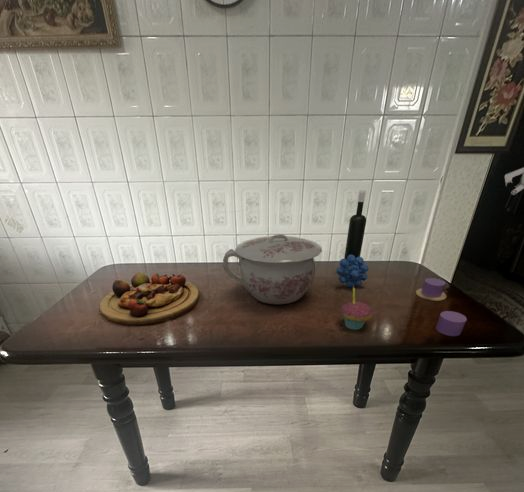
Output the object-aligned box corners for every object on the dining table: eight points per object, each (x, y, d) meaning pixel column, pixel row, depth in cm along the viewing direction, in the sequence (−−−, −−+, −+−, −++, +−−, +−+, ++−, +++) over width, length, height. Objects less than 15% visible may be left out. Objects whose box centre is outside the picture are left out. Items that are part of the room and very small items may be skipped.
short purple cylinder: (461, 327, 85) (466, 314, 83) (460, 338, 81) (467, 324, 78) (436, 322, 88) (441, 309, 85) (434, 332, 83) (439, 318, 81)
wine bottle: (358, 277, 117) (373, 191, 100) (343, 277, 118) (355, 191, 100) (355, 272, 122) (369, 189, 105) (340, 272, 122) (352, 189, 105)
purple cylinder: (441, 292, 104) (446, 280, 102) (440, 299, 100) (445, 286, 97) (421, 288, 107) (425, 276, 104) (420, 295, 102) (423, 283, 100)
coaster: (446, 292, 105) (447, 291, 105) (445, 303, 98) (446, 302, 98) (417, 287, 109) (417, 286, 109) (414, 297, 102) (414, 296, 102)
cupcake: (336, 329, 85) (342, 290, 78) (341, 316, 92) (347, 278, 85) (367, 335, 82) (376, 295, 76) (371, 321, 89) (379, 283, 82)
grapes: (337, 292, 106) (341, 259, 99) (332, 285, 111) (336, 252, 105) (369, 291, 106) (376, 258, 100) (363, 284, 112) (369, 251, 105)
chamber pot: (331, 291, 107) (338, 230, 95) (290, 323, 88) (293, 253, 77) (266, 275, 120) (266, 220, 108) (220, 300, 102) (213, 237, 90)
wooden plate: (174, 332, 85) (168, 305, 81) (77, 321, 91) (67, 296, 87) (213, 287, 111) (211, 265, 106) (136, 281, 117) (130, 260, 112)
